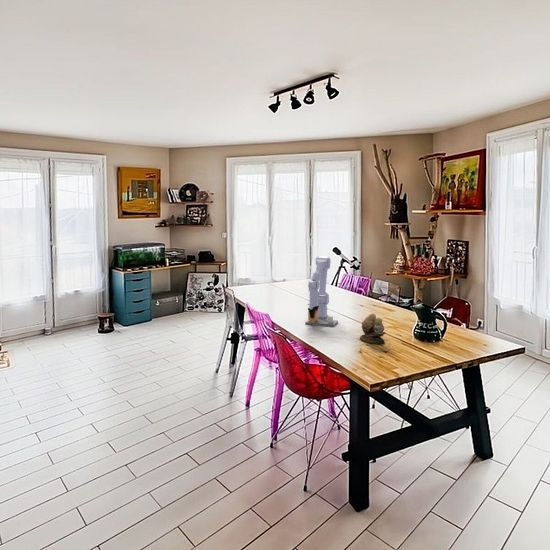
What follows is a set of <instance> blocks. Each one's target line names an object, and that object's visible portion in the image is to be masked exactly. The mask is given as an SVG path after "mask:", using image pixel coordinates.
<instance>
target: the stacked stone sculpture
mask: <svg viewBox="0 0 550 550" xmlns="http://www.w3.org/2000/svg"><path fill="white" fill-rule="evenodd" d="M361 328H362V329H361V330H362V333H364V334H362V335H360V337H359V341H361V342H363V343H367V344H370V345H376V344H377V345H382V344H385V342H386V341H385V340H384V339H383V338H382V337H384V335H385V334H386V332H385V326H384V324H383V319H382V318H380V317H377V314H375V313H369V315H368V316H366V317H365V318H364V320H363V321H362V322H361Z"/></svg>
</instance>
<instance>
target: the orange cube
mask: <svg viewBox="0 0 550 550" xmlns="http://www.w3.org/2000/svg"><path fill="white" fill-rule="evenodd" d="M307 314H308V315H307V320H314V321H316V320H317V319H319V317H318V310H316V311H315V314H314V318H310V313H309V311H308V312H307Z"/></svg>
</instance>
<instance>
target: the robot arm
mask: <svg viewBox="0 0 550 550" xmlns="http://www.w3.org/2000/svg"><path fill="white" fill-rule="evenodd" d="M331 263H332V262H331V258H330V257H329V256H316V258H315V266H316V268H315V272H313V274H312V276H311V279H310V280H309V281H308V285H307V286H308V292H309V300H308V301H309V303H307V306H309V307H308V308H307V310H308V311H309V313H310V318H314V314H315V311H316V310H318V319H326V318H328V316H329V314H328V305H329V303H330V295H329V293H328V292H327V291H326V290H327V278H328V271H329V269H330V268H331Z"/></svg>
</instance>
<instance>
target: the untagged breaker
mask: <svg viewBox="0 0 550 550" xmlns="http://www.w3.org/2000/svg"><path fill="white" fill-rule="evenodd" d="M327 320H328V323H333V320H334V315H328V316H327Z"/></svg>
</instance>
